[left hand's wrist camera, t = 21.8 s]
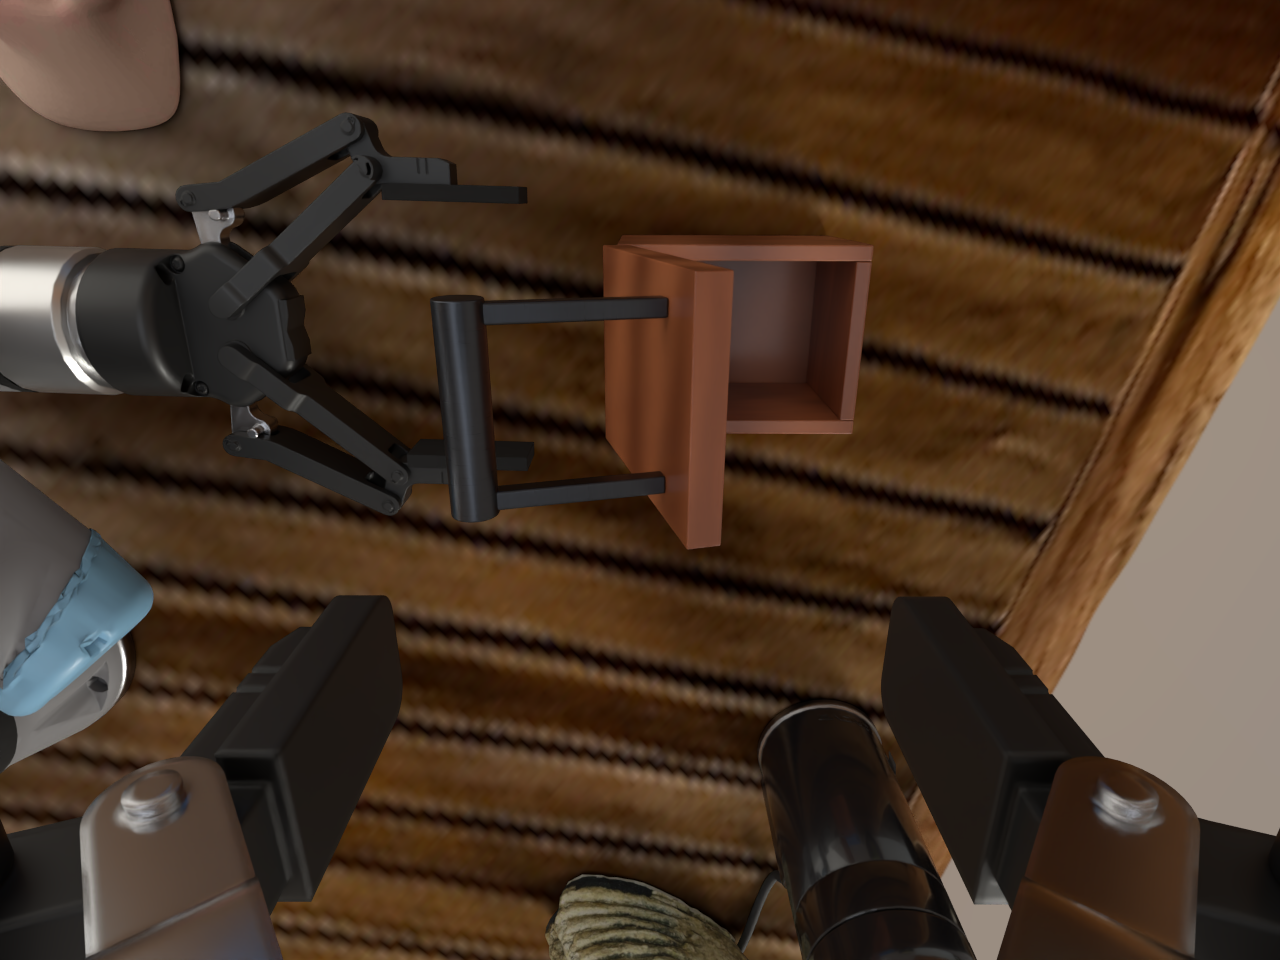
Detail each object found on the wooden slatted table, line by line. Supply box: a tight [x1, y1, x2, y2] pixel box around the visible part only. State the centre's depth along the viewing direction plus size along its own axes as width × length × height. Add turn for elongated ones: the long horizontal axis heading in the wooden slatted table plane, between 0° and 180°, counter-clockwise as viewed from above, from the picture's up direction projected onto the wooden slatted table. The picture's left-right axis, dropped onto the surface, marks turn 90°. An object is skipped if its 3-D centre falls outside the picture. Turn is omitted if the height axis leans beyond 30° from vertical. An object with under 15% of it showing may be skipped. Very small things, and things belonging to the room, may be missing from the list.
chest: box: [617, 235, 873, 434], centre depth 40 cm, size 12×9×9 cm
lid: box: [430, 245, 734, 549], centre depth 29 cm, size 13×9×9 cm
